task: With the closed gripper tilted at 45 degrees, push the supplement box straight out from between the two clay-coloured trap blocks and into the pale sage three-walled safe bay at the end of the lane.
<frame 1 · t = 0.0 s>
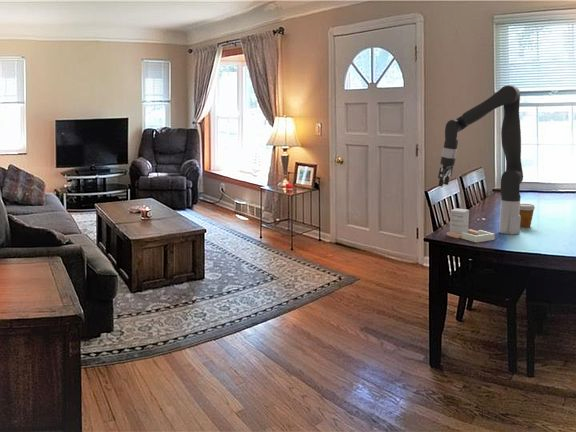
hand: (443, 185, 304), 22 cm above the table, tool pointing down, fingers open, 8 cm apart
supplement box: (458, 234, 287), on the table
safe bay: (469, 236, 280), on the table
trap right: (473, 233, 287), on the table
trap left: (454, 236, 281), on the table
disposable coffee cup: (523, 226, 302), on the table
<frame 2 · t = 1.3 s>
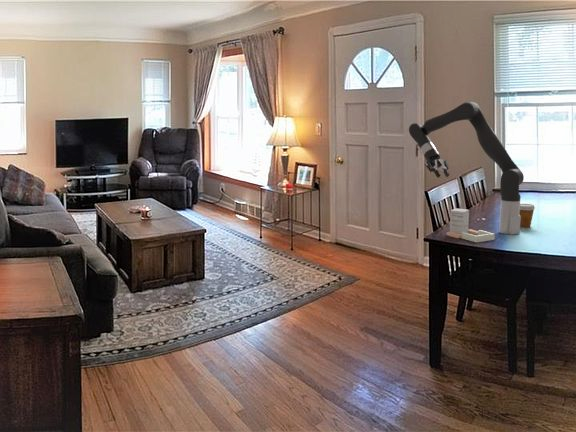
hand: (443, 176, 297), 28 cm above the table, tool tilted 45°, fingers open, 5 cm apart
nothing on the table moved.
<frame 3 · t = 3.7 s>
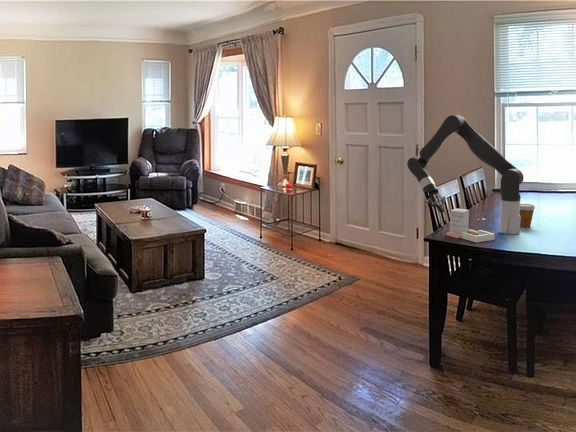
hand: (442, 212, 297), 9 cm above the table, tool tilted 45°, fingers closed
nothing on the table moved.
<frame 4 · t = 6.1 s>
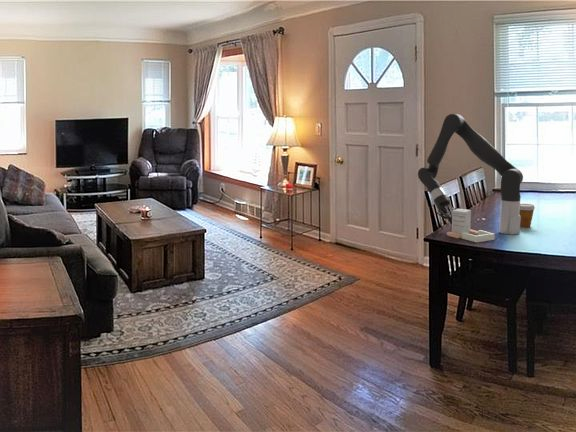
hand: (454, 224, 290), 4 cm above the table, tool tilted 45°, fingers closed
supplement box: (460, 234, 286), on the table, touching gripper
everything else where it was.
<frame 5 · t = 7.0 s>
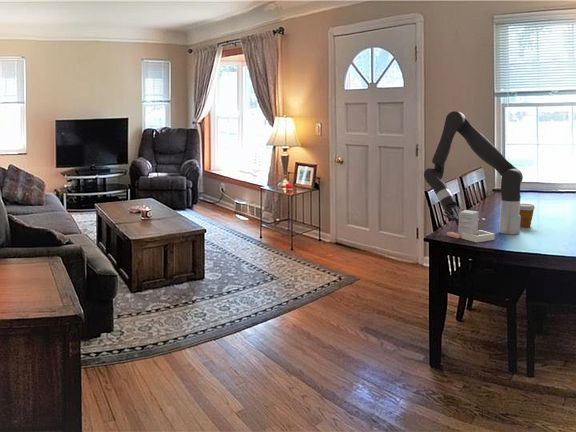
hand: (461, 226, 285), 4 cm above the table, tool tilted 45°, fingers closed
supplement box: (467, 236, 282), on the table, touching gripper
everything else where it was.
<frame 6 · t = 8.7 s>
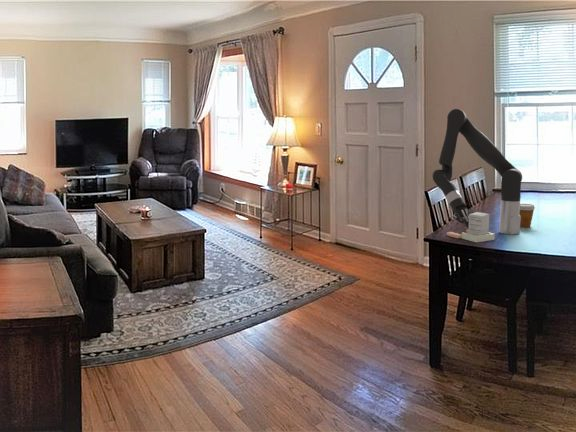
hand: (471, 228, 279), 4 cm above the table, tool tilted 45°, fingers closed
supplement box: (478, 239, 276), on the table, touching gripper, safe bay
everything else where it was.
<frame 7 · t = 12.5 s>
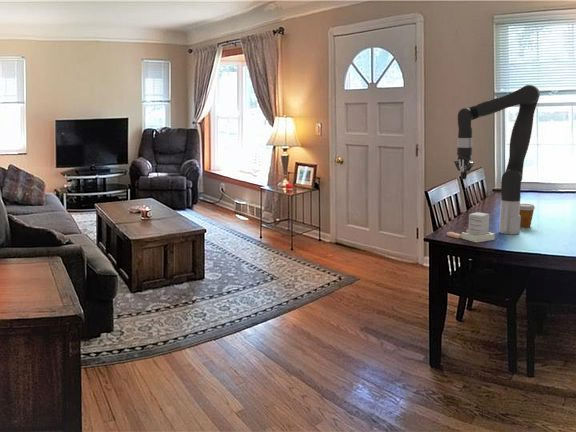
hand: (463, 179, 295), 27 cm above the table, tool pointing down, fingers closed
supplement box: (478, 239, 276), on the table
everything else where it was.
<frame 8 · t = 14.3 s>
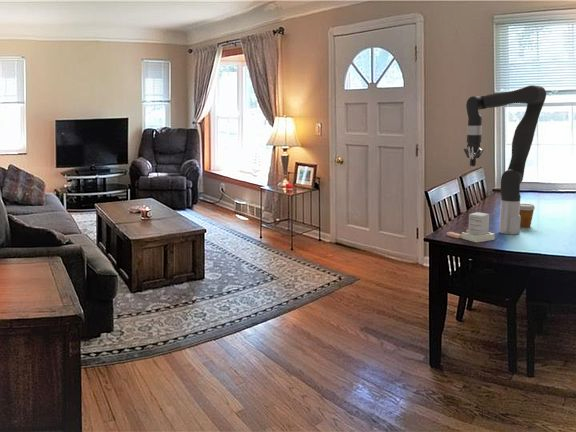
hand: (472, 166, 301), 33 cm above the table, tool pointing down, fingers closed
nothing on the table moved.
at the end: supplement box 0.6 cm from the target spot on the safe bay, point 0.0 cm above the safe bay's base; supplement box tilted 0° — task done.
